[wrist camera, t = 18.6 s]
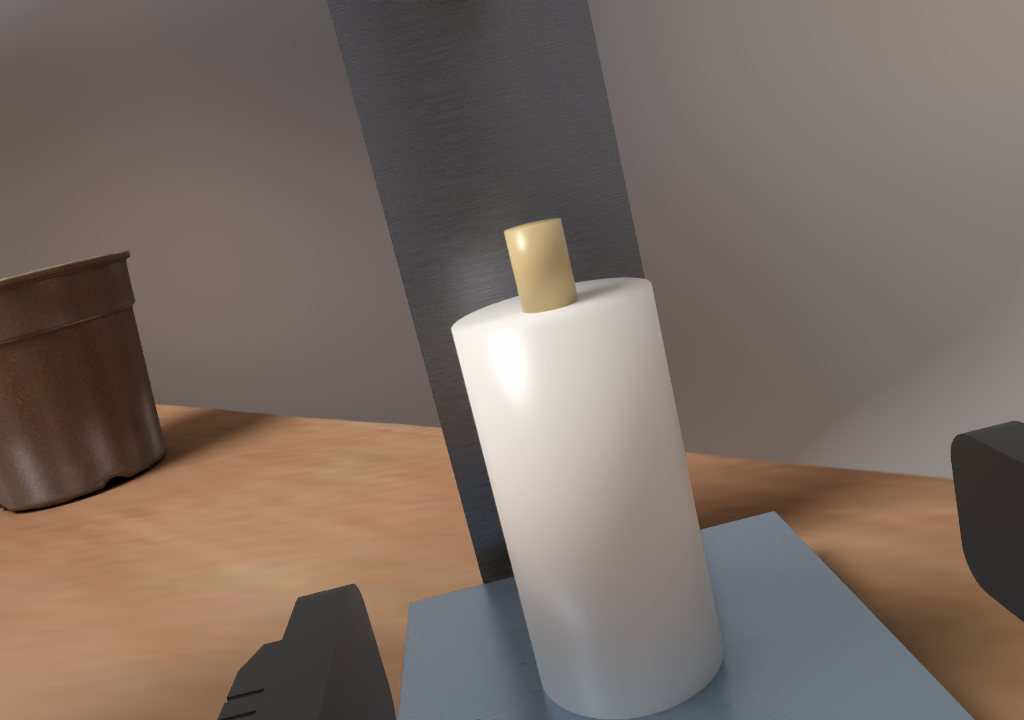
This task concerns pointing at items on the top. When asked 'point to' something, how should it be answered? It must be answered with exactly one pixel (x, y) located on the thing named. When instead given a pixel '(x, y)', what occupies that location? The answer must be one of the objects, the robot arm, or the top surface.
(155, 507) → the top surface
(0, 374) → the plant pot
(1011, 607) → the robot arm
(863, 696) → the press
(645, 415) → the white cylinder
